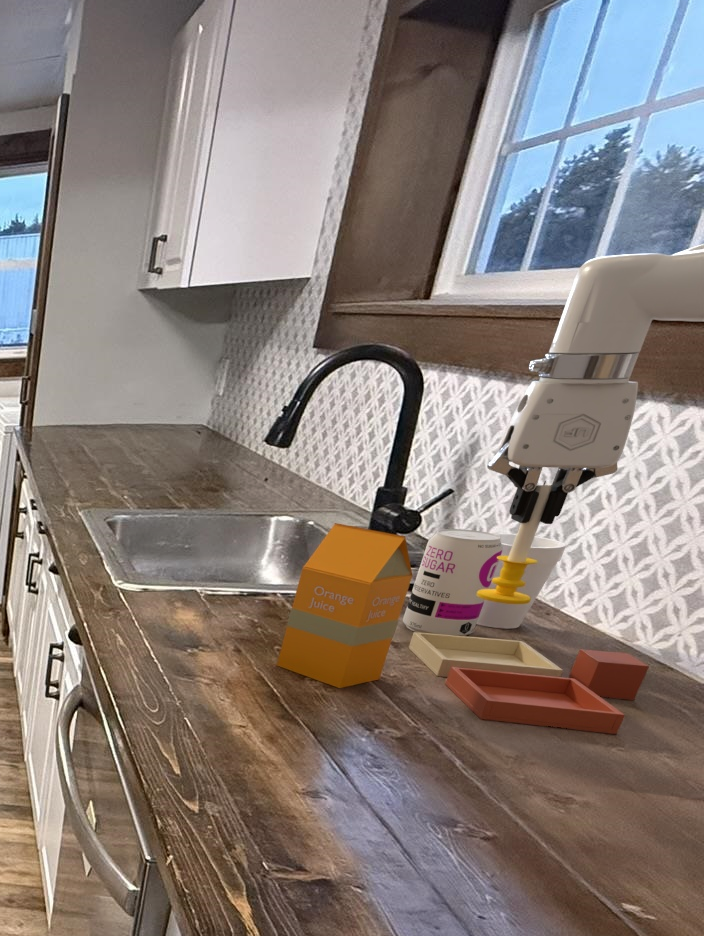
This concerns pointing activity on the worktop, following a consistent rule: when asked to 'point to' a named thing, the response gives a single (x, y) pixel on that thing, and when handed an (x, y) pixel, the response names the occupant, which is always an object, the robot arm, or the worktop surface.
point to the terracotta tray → (533, 700)
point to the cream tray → (479, 655)
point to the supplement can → (452, 582)
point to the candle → (517, 558)
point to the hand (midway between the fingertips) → (531, 520)
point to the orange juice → (347, 606)
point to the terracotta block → (609, 673)
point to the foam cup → (533, 576)
